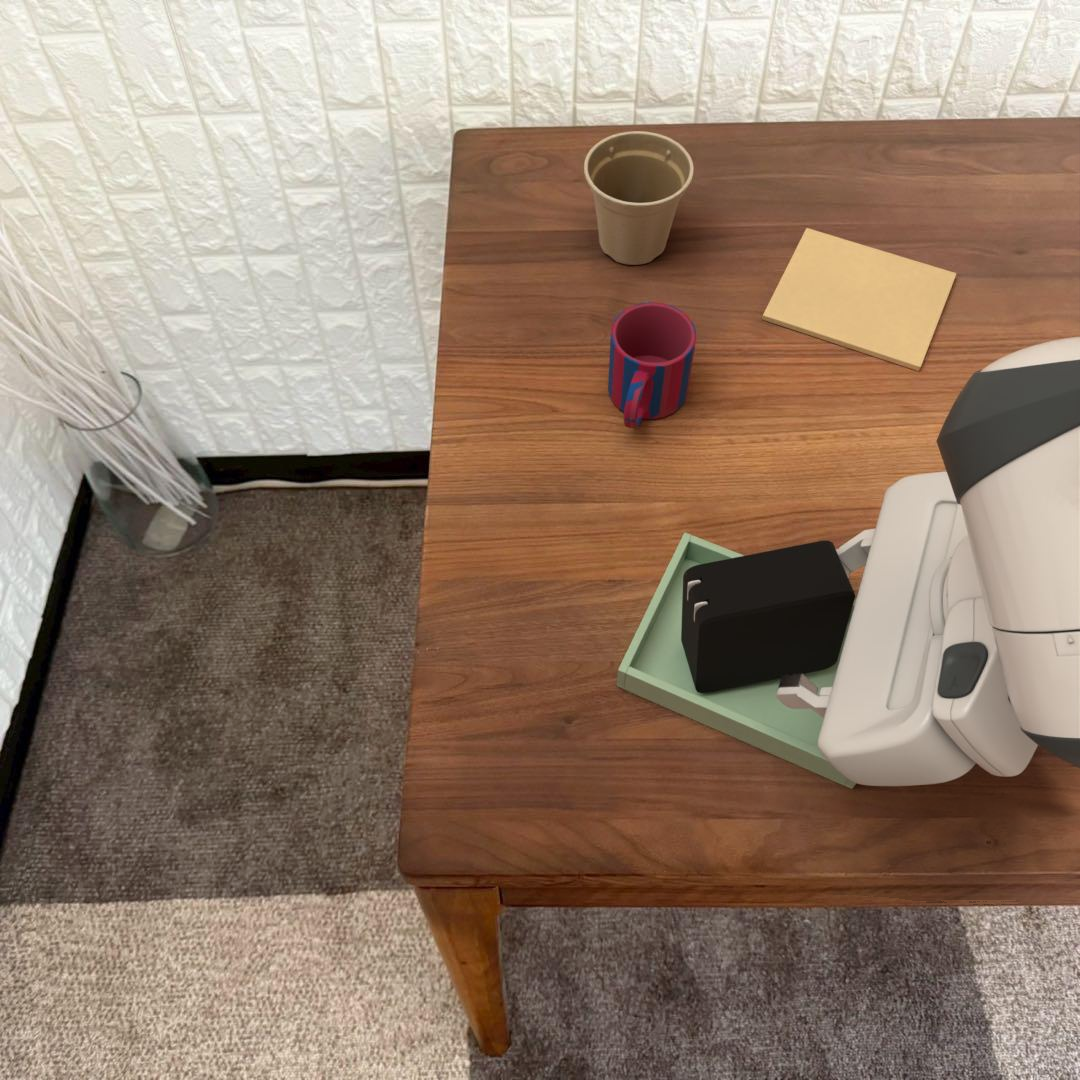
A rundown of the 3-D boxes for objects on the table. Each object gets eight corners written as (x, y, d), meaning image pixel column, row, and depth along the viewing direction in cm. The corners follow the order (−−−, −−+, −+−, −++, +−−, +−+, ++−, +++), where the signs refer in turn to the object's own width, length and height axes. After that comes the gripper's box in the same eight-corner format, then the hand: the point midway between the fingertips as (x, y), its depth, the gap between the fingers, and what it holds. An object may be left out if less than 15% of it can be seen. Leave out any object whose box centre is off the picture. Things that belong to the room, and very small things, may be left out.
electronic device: (835, 668, 71) (858, 589, 63) (695, 696, 70) (699, 620, 62) (816, 619, 73) (835, 536, 65) (680, 645, 73) (683, 566, 65)
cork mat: (954, 277, 91) (957, 273, 91) (918, 371, 86) (921, 367, 85) (805, 232, 94) (806, 227, 94) (761, 319, 89) (762, 315, 89)
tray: (902, 639, 73) (914, 621, 71) (852, 789, 68) (862, 776, 65) (680, 551, 77) (684, 531, 75) (615, 686, 72) (617, 669, 69)
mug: (698, 372, 86) (708, 316, 80) (656, 460, 82) (663, 408, 76) (625, 348, 88) (629, 292, 82) (580, 434, 83) (581, 380, 77)
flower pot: (701, 261, 93) (713, 185, 85) (608, 292, 91) (611, 216, 84) (656, 197, 97) (664, 119, 90) (566, 225, 96) (566, 148, 88)
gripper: (1018, 428, 58) (815, 474, 69) (955, 745, 49) (730, 743, 59) (1065, 494, 61) (863, 529, 72) (1014, 805, 52) (790, 794, 62)
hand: (802, 628), depth 65 cm, fingers open, 8 cm apart
